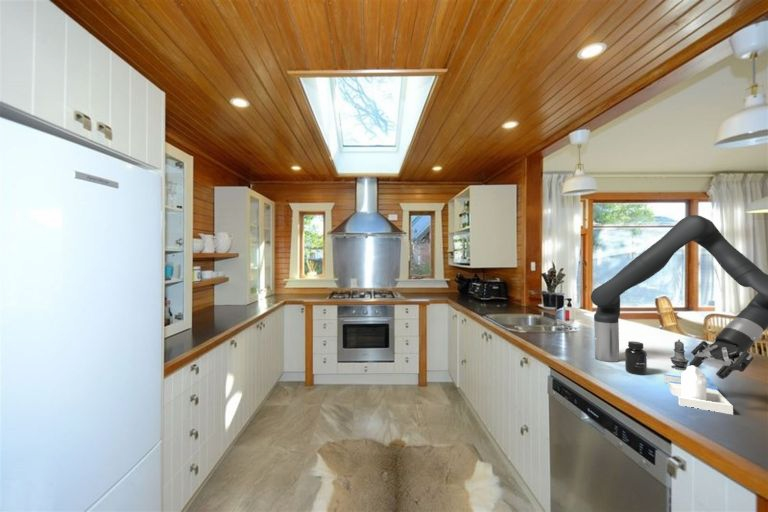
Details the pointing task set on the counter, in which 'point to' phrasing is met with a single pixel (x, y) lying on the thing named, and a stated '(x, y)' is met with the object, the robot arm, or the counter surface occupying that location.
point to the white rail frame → (711, 395)
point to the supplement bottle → (635, 358)
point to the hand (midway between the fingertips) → (705, 372)
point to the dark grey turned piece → (679, 357)
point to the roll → (693, 383)
